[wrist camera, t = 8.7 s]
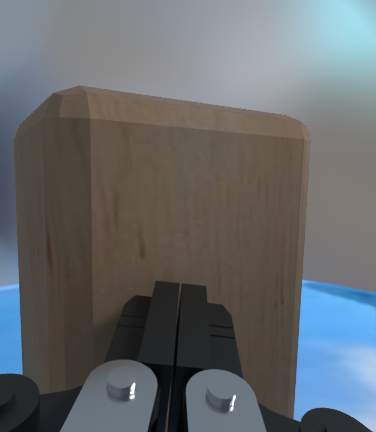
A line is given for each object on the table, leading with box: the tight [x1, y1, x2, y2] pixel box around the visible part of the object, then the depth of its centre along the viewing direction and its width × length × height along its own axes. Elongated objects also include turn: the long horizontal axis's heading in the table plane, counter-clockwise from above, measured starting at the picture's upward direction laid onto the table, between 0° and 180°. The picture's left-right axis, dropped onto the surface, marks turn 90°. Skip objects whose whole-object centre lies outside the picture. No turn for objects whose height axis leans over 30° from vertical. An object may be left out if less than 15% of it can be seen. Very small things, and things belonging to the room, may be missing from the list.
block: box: [14, 86, 311, 432], centre depth 16 cm, size 10×10×20 cm
